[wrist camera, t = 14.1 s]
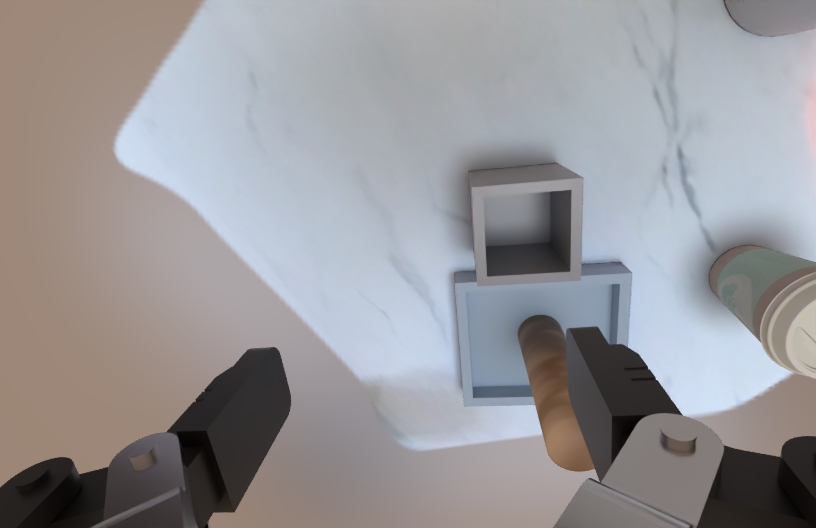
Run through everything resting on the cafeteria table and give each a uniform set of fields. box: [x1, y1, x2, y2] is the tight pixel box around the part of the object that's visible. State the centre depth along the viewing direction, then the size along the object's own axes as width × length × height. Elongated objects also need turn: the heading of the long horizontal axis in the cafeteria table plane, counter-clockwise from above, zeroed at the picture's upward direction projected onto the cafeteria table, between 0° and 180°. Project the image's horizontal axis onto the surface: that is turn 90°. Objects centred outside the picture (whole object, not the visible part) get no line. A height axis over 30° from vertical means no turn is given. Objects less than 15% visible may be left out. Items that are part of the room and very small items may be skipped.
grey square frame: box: [469, 163, 583, 287], centre depth 38 cm, size 8×8×9 cm
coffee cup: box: [709, 245, 816, 379], centre depth 36 cm, size 9×8×12 cm
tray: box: [455, 262, 632, 406], centre depth 45 cm, size 16×14×3 cm
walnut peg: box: [518, 315, 595, 471], centre depth 38 cm, size 4×4×16 cm
